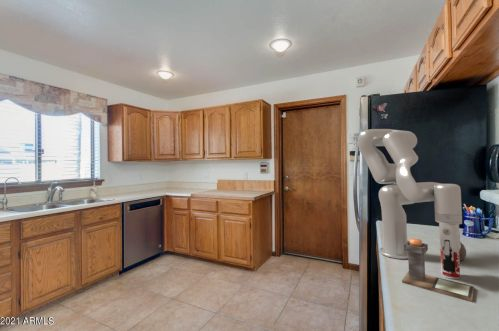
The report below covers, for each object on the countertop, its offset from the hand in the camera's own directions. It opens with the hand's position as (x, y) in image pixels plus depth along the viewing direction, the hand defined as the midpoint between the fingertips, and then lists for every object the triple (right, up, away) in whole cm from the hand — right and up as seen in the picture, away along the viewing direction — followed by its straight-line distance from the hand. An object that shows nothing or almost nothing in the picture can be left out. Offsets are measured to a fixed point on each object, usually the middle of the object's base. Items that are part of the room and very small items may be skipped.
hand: (450, 267), depth 87 cm
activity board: (-9, -3, -6) cm, 12 cm away
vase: (+15, -3, +15) cm, 21 cm away
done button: (-14, +9, -2) cm, 16 cm away
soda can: (0, -3, 0) cm, 3 cm away
